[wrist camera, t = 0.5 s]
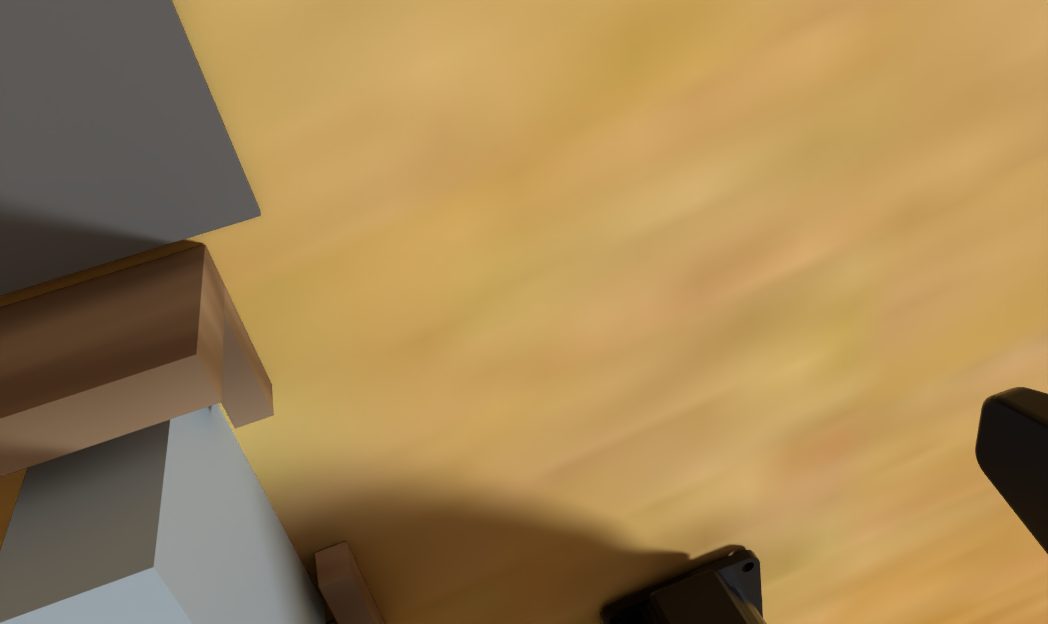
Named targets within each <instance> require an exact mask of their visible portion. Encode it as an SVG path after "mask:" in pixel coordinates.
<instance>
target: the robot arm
mask: <svg viewBox="0 0 1048 624" xmlns="http://www.w3.org/2000/svg"><path fill="white" fill-rule="evenodd" d="M975 453H976V458H977V461H978V464H979V465H980V467H981V469H982V471H983V472H984V474H985V475H986V476H987V477H988V479H989V480H990V481H991V482H992V484H993V485H994V486H995V488H996V489H997V490H998V491H999V493H1000V494H1001V495H1002V496H1003V498H1004V499H1005V500H1006V502H1007V503H1008V504H1009V505H1010V507H1011V508H1012V509H1013V510H1014V512H1015V513H1016V514H1017V516H1018V517H1019V518H1020V519H1021V521H1022V522H1023V523H1024V524H1025V526H1026V527H1027V528H1028V530H1029V531H1030V532H1031V533H1032V535H1033V536H1034V537H1035V539H1036V540H1037V541H1038V542H1039V544H1040V545H1041V546H1042V547H1043V549H1044V550H1045V551H1046V553H1047V554H1048V394H1047V393H1043V392H1040V391H1036V390H1033V389H1029V388H1025V387H1016V388H1012V389H1009V390H1006V391H1003V392H1000V393H998V394H995V395H992V396H990V397H988V398H987V399H986V400H985V401H984V403H983V405H982V409H981V415H980V421H979V428H978V434H977V440H976V446H975ZM600 621H601V624H766V622H765V621H764V619H763V613H762V595H761V577H760V562H759V559H758V558H757V557H756V555H755V554H754V552H752V551H751V550H745V551H741V552H739V553H736V554H734V555H731V556H729V557H726V558H724V559H721V560H719V561H716V562H714V563H711V564H709V565H706V566H704V567H701V568H699V569H696V570H694V571H691V572H689V573H686V574H684V575H681V576H679V577H676V578H674V579H671V580H669V581H666V582H664V583H661V584H659V585H656V586H654V587H651V588H649V589H646V590H644V591H641V592H639V593H636V594H634V595H631V596H629V597H626V598H624V599H621V600H619V601H616V602H614V603H611V604H609V605H607V606H605V607H604V608H603V609H602V611H601V612H600Z"/></svg>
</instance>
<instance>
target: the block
mask: <svg viewBox="0 0 1048 624" xmlns="http://www.w3.org/2000/svg"><path fill="white" fill-rule="evenodd" d="M0 624H326V621H325V612H324V603H323V601H322V599H321V597H320V596H319V594H318V592H317V590H316V588H315V586H314V584H313V582H312V580H311V579H310V577H309V575H308V573H307V571H306V569H305V567H304V565H303V564H302V562H301V560H300V558H299V556H298V554H297V552H296V550H295V548H294V547H293V545H292V543H291V541H290V539H289V537H288V535H287V533H286V532H285V530H284V528H283V526H282V524H281V522H280V520H279V518H278V517H277V515H276V513H275V511H274V509H273V507H272V505H271V503H270V501H269V500H268V498H267V496H266V494H265V492H264V490H263V488H262V486H261V485H260V483H259V481H258V479H257V477H256V475H255V473H254V471H253V469H252V468H251V466H250V464H249V462H248V460H247V458H246V456H245V454H244V453H243V451H242V449H241V447H240V445H239V443H238V441H237V439H236V437H235V436H234V434H233V432H232V430H231V428H230V426H229V424H228V422H227V421H226V419H225V417H224V415H223V413H222V411H221V409H220V407H219V405H218V404H214V405H211V406H208V407H206V408H203V409H200V410H197V411H194V412H191V413H188V414H185V415H182V416H179V417H176V418H173V419H170V420H167V421H164V422H161V423H158V424H155V425H152V426H149V427H146V428H143V429H140V430H137V431H134V432H131V433H128V434H126V435H123V436H120V437H117V438H114V439H111V440H108V441H105V442H102V443H99V444H96V445H93V446H90V447H87V448H84V449H81V450H78V451H75V452H72V453H69V454H66V455H63V456H60V457H57V458H54V459H51V460H49V461H46V462H43V463H40V464H37V465H34V466H31V467H28V468H27V471H26V474H25V477H24V480H23V483H22V486H21V489H20V492H19V495H18V498H17V502H16V505H15V508H14V511H13V514H12V517H11V520H10V523H9V526H8V529H7V532H6V535H5V538H4V541H3V544H2V547H1V550H0Z"/></svg>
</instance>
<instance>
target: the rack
mask: <svg viewBox="0 0 1048 624" xmlns="http://www.w3.org/2000/svg"><path fill="white" fill-rule="evenodd" d="M220 402H221V403H222V405H223V407H224V409H225V410H226V412H227V414H228V416H229V418H230V420H231V422H232V424H233V426H234V428H238V427H241V426H244V425H246V424H249V423H252V422H255V421H258V420H261V419H264V418H267V417H270V416H273V415H274V413H273V397H272V384H271V382H270V380H269V378H268V376H267V374H266V371H265V369H264V367H263V365H262V363H261V361H260V359H259V357H258V355H257V352H256V350H255V348H254V346H253V344H252V342H251V340H250V338H249V336H248V334H247V331H246V329H245V327H244V325H243V323H242V321H241V319H240V317H239V315H238V312H237V310H236V308H235V306H234V304H233V302H232V300H231V298H230V296H229V294H228V291H227V289H226V287H225V285H224V283H223V281H222V279H221V277H220V275H219V272H218V270H217V268H216V266H215V264H214V262H213V260H212V258H211V256H210V254H209V251H208V249H207V247H206V245H201V246H198V247H195V248H192V249H188V250H185V251H182V252H179V253H176V254H172V255H169V256H166V257H163V258H159V259H156V260H153V261H150V262H146V263H143V264H140V265H137V266H133V267H130V268H127V269H124V270H121V271H117V272H114V273H111V274H108V275H104V276H101V277H98V278H95V279H91V280H88V281H85V282H82V283H78V284H75V285H72V286H69V287H66V288H62V289H59V290H56V291H53V292H49V293H46V294H43V295H40V296H36V297H33V298H30V299H27V300H23V301H20V302H17V303H14V304H11V305H7V306H4V307H1V308H0V477H1V476H4V475H7V474H10V473H13V472H16V471H19V470H22V469H25V468H28V467H31V466H34V465H37V464H40V463H43V462H46V461H49V460H51V459H54V458H57V457H60V456H63V455H66V454H69V453H72V452H75V451H78V450H81V449H84V448H87V447H90V446H93V445H96V444H99V443H102V442H105V441H108V440H111V439H114V438H117V437H120V436H123V435H126V434H128V433H131V432H134V431H137V430H140V429H143V428H146V427H149V426H152V425H155V424H158V423H161V422H164V421H167V420H170V419H173V418H176V417H179V416H182V415H185V414H188V413H191V412H194V411H197V410H200V409H203V408H206V407H208V406H211V405H214V404H217V403H220ZM315 557H316V567H317V576H318V585H319V589H320V591H321V592H322V594H323V596H324V598H325V600H326V602H327V604H328V606H329V608H330V610H331V611H332V613H333V615H334V617H335V619H336V620H334V621H332V622H329V623H326V624H385V622H384V620H383V618H382V616H381V614H380V611H379V609H378V607H377V605H376V603H375V601H374V599H373V597H372V595H371V592H370V590H369V588H368V586H367V584H366V582H365V580H364V578H363V576H362V574H361V571H360V569H359V567H358V565H357V563H356V561H355V559H354V557H353V555H352V552H351V550H350V548H349V546H348V544H347V542H346V541H345V542H343V543H340V544H337V545H335V546H332V547H329V548H326V549H324V550H321V551H318V552H316V553H315Z"/></svg>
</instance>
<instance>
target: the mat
mask: <svg viewBox="0 0 1048 624" xmlns="http://www.w3.org/2000/svg"><path fill="white" fill-rule="evenodd" d="M258 216H261V213H260V209H259V206H258V204H257V202H256V199H255V197H254V195H253V192H252V190H251V187H250V185H249V183H248V180H247V178H246V176H245V173H244V171H243V168H242V166H241V164H240V161H239V159H238V157H237V154H236V152H235V149H234V147H233V145H232V142H231V140H230V138H229V135H228V133H227V130H226V128H225V126H224V123H223V121H222V119H221V116H220V114H219V111H218V109H217V107H216V104H215V102H214V100H213V97H212V95H211V92H210V90H209V88H208V85H207V83H206V80H205V78H204V76H203V73H202V71H201V69H200V66H199V64H198V61H197V59H196V57H195V54H194V52H193V50H192V47H191V45H190V42H189V40H188V38H187V35H186V33H185V31H184V28H183V26H182V23H181V21H180V19H179V16H178V14H177V12H176V9H175V7H174V4H173V2H172V0H0V296H1V295H4V294H7V293H11V292H14V291H17V290H20V289H24V288H27V287H30V286H33V285H37V284H40V283H43V282H46V281H50V280H53V279H56V278H59V277H63V276H66V275H69V274H72V273H76V272H79V271H82V270H85V269H89V268H92V267H95V266H98V265H102V264H105V263H108V262H112V261H115V260H118V259H121V258H125V257H128V256H131V255H134V254H138V253H141V252H144V251H147V250H151V249H154V248H157V247H160V246H164V245H167V244H170V243H173V242H177V241H180V240H183V239H186V238H190V237H193V236H196V235H199V234H203V233H206V232H209V231H212V230H216V229H219V228H222V227H225V226H229V225H232V224H235V223H239V222H242V221H245V220H248V219H252V218H255V217H258Z"/></svg>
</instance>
